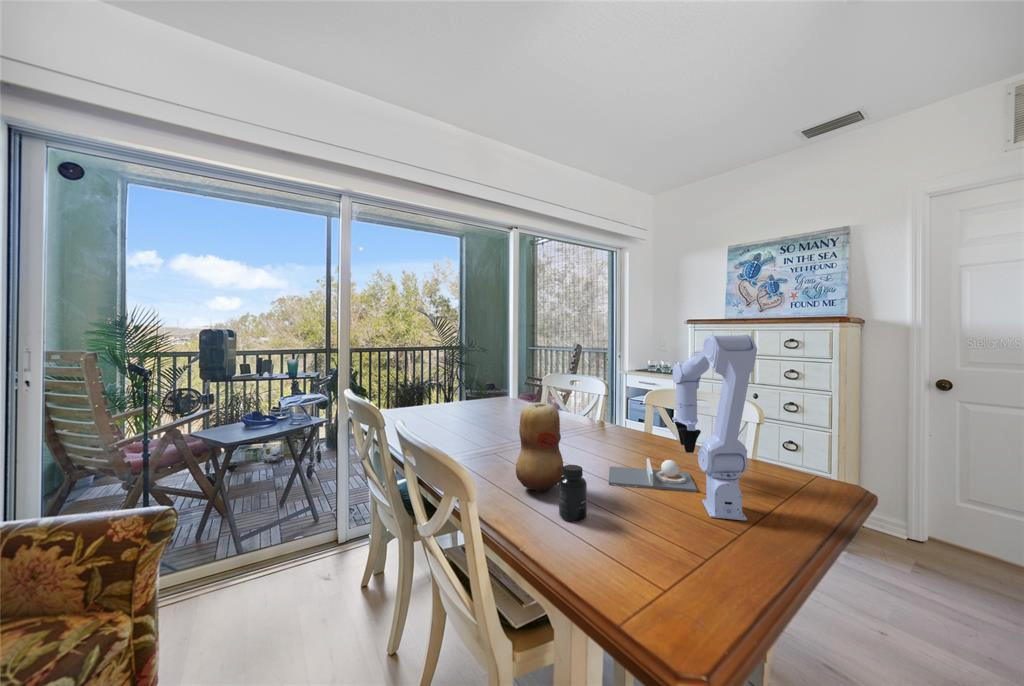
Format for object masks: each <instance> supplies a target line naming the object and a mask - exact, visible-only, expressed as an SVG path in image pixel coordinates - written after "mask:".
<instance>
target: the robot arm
mask: <svg viewBox="0 0 1024 686" xmlns="http://www.w3.org/2000/svg"><path fill="white" fill-rule="evenodd" d="M702 345H703V348H702V350H701V351H700V352H699V353H692V354H690V356H689V357H688V358H687V359H686V360H685V361H684V362H683V363H682V364H678V363H675V364H674V366H673V367H672V379H673V382H674V383H675V389H676V390H675V392H676V393H675V395H676V397H675V398H676V400H675V402H676V403H675V405H676V409H675V410H676V417H672V418H671V420H672V421H673V423H674V425H675V428H676V429H677V433H678V438H679V443H680V445H681V446H683V448H684V451H685V453H687V454H693V453H694V452H695V450H696V449H695V448H696V444H697V440H698V437H699V436H700V435H701V432H702V431H701V429H696V425H697V423H698V422H699V419H698V389H699V388H700V382H701V378H702V377H701V376H702V375H703V374H705V373H706V372H707V371H708V370H709V369H710V367H711V369H712V370H713V372H714V373H716V374H718V375H720V376H721V377H722V383H721V388H720V393H719V400H718V405H717V412H716V417H715V424H714V430H713V434H712V435H710V436H709V437H707V438H706V439H704V440H703V441H702V443H701V447H700V448H699V451H698V452H697V462H698V465H699V468H700V470H702V472H703V473H705V479H706V480H705V482H706V483H705V485H706V486H705V488H706V490H705V491H706V492H705V494H706V495H705V497H706V498H705V499H704V498H703V499H702V500H701V502H702V504H703V506H704V507H705V510H706V513H708V516H709V517H710V518H715V519H724V520H725V519H728V520H736V521H747V520H748V518H747V516H746V515H745V514H744V513H743V494H742V493H743V492H742V491H741V489H740V487H739V486H740V484H739V483H740V481H739V480H740V478H742V477H743V474H745V472H746V471H747V468H748V466H749V465H748V464H749V463H748V449H747V447H746V446H745V445H744V443H742V442H741V440H739V433H740V429H741V422H742V418H743V412H744V408H745V404H746V403H745V402H746V398H747V392H748V387H749V383H750V376H751V373H752V372H754V369H755V365H756V364H755V363H756V358H757V354H758V347H757V345H756V343H755V340H754V339H753V337H752V336H751V335H749V334H742V335H741V334H740V335H739V334H737V335H735V334H734V335H714V334H713V335H712V334H711V335H708V336H707V337H706V338H705V339H704V341H703V344H702Z"/></svg>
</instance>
